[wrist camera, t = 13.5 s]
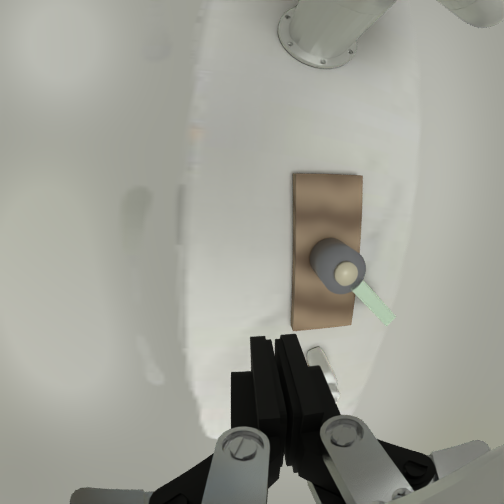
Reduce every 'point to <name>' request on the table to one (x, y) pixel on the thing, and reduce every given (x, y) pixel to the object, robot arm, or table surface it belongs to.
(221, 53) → the table surface
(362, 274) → the grey and green piece
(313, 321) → the post base
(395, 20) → the table surface
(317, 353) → the eye dropper bottle
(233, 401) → the robot arm
